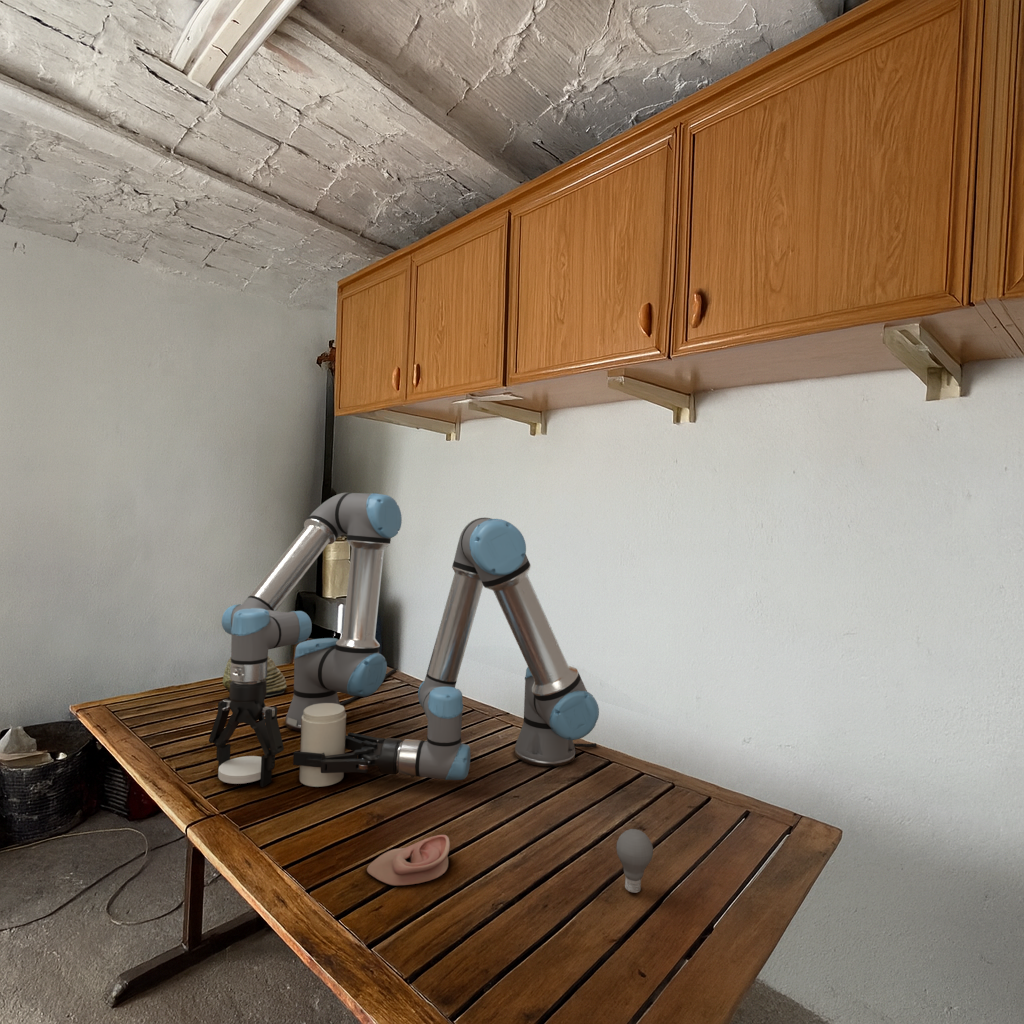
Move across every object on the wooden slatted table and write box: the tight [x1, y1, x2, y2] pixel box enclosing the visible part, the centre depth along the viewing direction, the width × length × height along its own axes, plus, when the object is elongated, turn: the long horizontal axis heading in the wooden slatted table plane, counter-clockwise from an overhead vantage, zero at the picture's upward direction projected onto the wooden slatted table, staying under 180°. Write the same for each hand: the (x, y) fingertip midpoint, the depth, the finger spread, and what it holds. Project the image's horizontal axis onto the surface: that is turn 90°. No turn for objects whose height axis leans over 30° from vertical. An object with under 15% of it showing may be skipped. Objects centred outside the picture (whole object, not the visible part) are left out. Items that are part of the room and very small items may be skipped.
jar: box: [298, 703, 347, 788], centre depth 143 cm, size 10×10×15 cm
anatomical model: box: [366, 834, 451, 886], centre depth 109 cm, size 13×4×12 cm
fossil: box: [222, 655, 288, 697], centre depth 198 cm, size 9×18×15 cm, turn 132°
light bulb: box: [615, 828, 654, 894], centre depth 106 cm, size 6×6×10 cm
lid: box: [217, 755, 262, 785], centre depth 140 cm, size 10×10×2 cm
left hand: (244, 779), depth 140 cm, fingers closed on lid, 10 cm apart
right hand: (304, 748), depth 143 cm, fingers closed on jar, 10 cm apart
